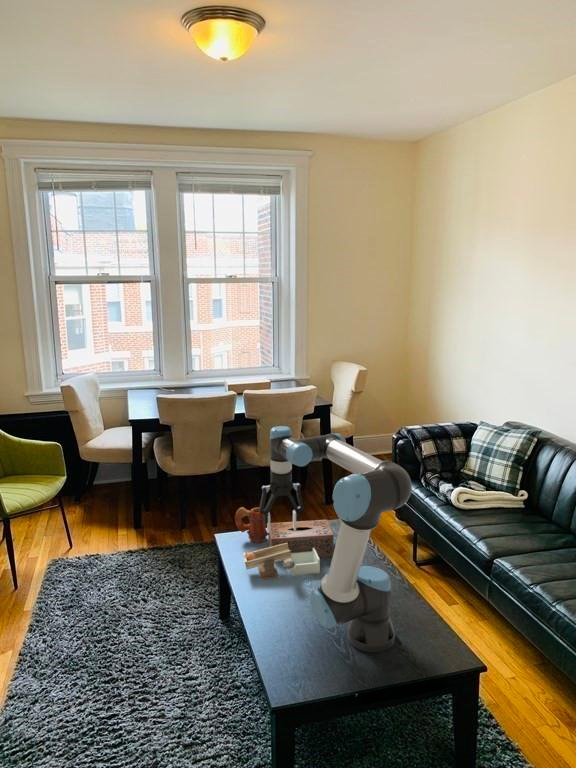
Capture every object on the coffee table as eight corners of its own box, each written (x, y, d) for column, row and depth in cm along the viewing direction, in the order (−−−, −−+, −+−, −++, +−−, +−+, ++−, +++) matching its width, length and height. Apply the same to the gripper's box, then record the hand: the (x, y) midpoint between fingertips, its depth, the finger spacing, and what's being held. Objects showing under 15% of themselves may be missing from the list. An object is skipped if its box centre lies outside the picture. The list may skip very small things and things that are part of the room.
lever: (296, 569, 210) (294, 561, 209) (249, 581, 207) (247, 573, 206) (288, 549, 225) (287, 541, 224) (244, 560, 222) (243, 553, 221)
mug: (269, 536, 251) (269, 504, 248) (267, 545, 243) (266, 512, 240) (237, 535, 252) (236, 503, 249) (234, 543, 244) (233, 511, 241)
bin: (319, 573, 220) (319, 559, 219) (293, 576, 218) (293, 562, 217) (314, 561, 229) (314, 547, 228) (288, 563, 227) (288, 550, 226)
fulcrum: (278, 578, 217) (278, 561, 215) (260, 580, 216) (260, 562, 214) (274, 564, 227) (274, 548, 225) (257, 566, 226) (257, 549, 224)
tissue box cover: (271, 561, 230) (271, 538, 228) (268, 544, 244) (268, 523, 242) (333, 557, 233) (333, 534, 231) (326, 540, 247) (326, 519, 245)
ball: (256, 561, 218) (254, 554, 217) (248, 564, 217) (245, 557, 216) (255, 557, 221) (253, 549, 220) (247, 560, 221) (244, 552, 220)
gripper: (308, 464, 202) (308, 522, 207) (249, 468, 199) (250, 527, 203) (313, 471, 195) (313, 532, 199) (252, 476, 191) (253, 537, 196)
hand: (281, 529), depth 201 cm, fingers open, 9 cm apart
